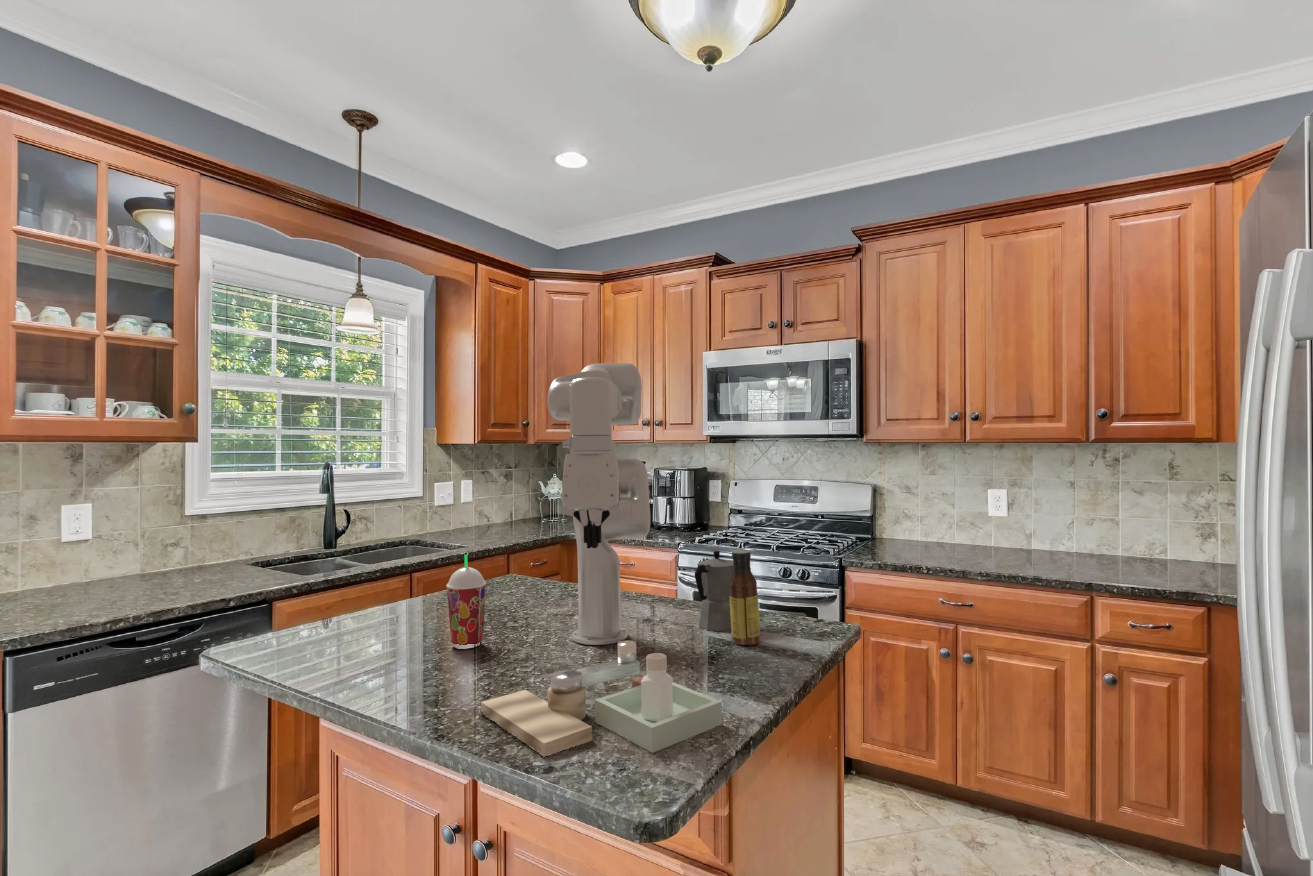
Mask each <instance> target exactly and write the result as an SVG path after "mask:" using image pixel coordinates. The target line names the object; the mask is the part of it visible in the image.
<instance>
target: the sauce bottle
mask: <svg viewBox="0 0 1313 876" xmlns="http://www.w3.org/2000/svg"><path fill="white" fill-rule="evenodd" d="M731 558H732V561H733V574H732V576H731V578H730V580H729V590H730V594H729V599H730V617H731V630H730V631H731V634H730V635H731V639H732V642H733V643H734V644H735V645H737V644H738V646H745V645H749V646H755V645H757V644H759V643H760V641H761V638H760V637H761V636H760V635H761V627H760V626H761V625H760V607H759V593H758V583H757V579H756V578H755V577H754V574H753V573H752V568H751V551H750V550H743V549H742V550H740V549H739V550H733V551H732V552H731Z"/></svg>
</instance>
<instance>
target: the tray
mask: <svg viewBox="0 0 1313 876" xmlns="http://www.w3.org/2000/svg"><path fill="white" fill-rule="evenodd" d="M672 692H673V713H672V715H671V716H670V717H669V718H667V719H664V720H661V721H659V722H655V721H650V720H644V719H643V718H642V709H641V685H639V686H636V687H633V688H632V687H630V688H627V689H624V690H620V691H618V692H614V693H611V694H608V695H604V696H602V697H601V696H600V697H599V698H595V699H594V722H595V723H596V724H598V725H600V726H602V727H603V728H606V729H607V730H609V731H611V732H612V733H614V734H616V735H618V736H620V737H622V738H624V739H625V740H628V741H629V742H632V743H633V744H635V745H637V746H638V747H641V748H642V749H644V750H646V751H647V752H650V753H651V754H654V753H656V752H658V751H661V750H664V749H666V748H668V747H671V746H674V745H675V744H677V743H680V742H682V741H685V740H687V739H691V738H693V737H695V736H697V735H700V734H701V733H704V732H707V731H710V730H712V729H715V728H717V727H719V726H718V725H720V724H722V725H723V701H721V700H719V699H716V698H714V697H711V696H709V695H706V694H704V693H701V692H699V691H696V690H694V689H691V688H689V687H686V686H683V685H682V684H678V683H676V682H674V681H672ZM716 726H717V727H716ZM720 726H721V725H720ZM709 729H710V730H709Z"/></svg>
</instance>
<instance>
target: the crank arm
mask: <svg viewBox="0 0 1313 876" xmlns="http://www.w3.org/2000/svg"><path fill="white" fill-rule="evenodd" d="M640 672H641V671H640V661H639V660H638V659H637V642H636V641H634V640H623V641H620V642H617V659H616V660H615V659H614V660H611V661H607V662H602V663H598V664H594V665H590V666H589V665H588V666H586V667H582V668H577V669H564V670H563V669H562V670H560V671H559V670H558V671H554V672H553V673H551V675H550V687H551V690H552V691H553V692H555V693H561V694H567V693H573V692H577V691H579V690H581V689H582V688H583V687H585V688H587V687H591V686H594V685H599V684H603V683H606V682H611V681H614V680H618V679H623V678H626V677H630V676H634V675H638V674H640Z"/></svg>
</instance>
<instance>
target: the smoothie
mask: <svg viewBox="0 0 1313 876" xmlns="http://www.w3.org/2000/svg"><path fill="white" fill-rule="evenodd" d="M463 557H464V566H463V567H460V568H458V569H456V571H454V572H453V573H452V574H451V576H449V577H450V578H449V580H448V582H447V584H446V593H447V606H448V608H447V609H448V618H449V619H448V621H449V632H450V643H451V644H452V645H453V644H459V645H467V644H477V643H479V642H481V643H482V641H483V640H484V628H485V627H484V626H485V605H486V584H487V582H486V580H485V579H484V577H483V575H482V573H481V572H480V571H479V570H478V569H476V568H474V567H471V566H468V563H469V562H468V557H469V555H468V554H464V556H463Z"/></svg>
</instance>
